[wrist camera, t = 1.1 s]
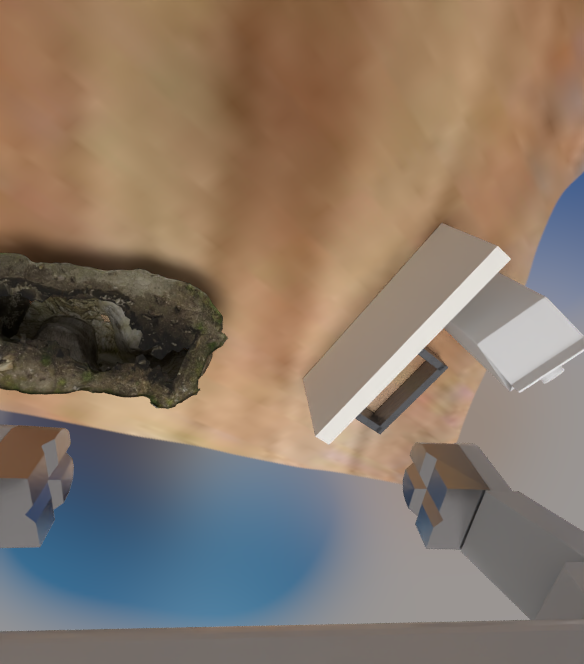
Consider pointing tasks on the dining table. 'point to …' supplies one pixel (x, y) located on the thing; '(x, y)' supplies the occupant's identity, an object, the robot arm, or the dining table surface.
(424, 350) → the cleat bracket
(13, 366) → the hollow geode rock
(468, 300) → the wall board
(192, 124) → the dining table surface
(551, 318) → the milk carton
